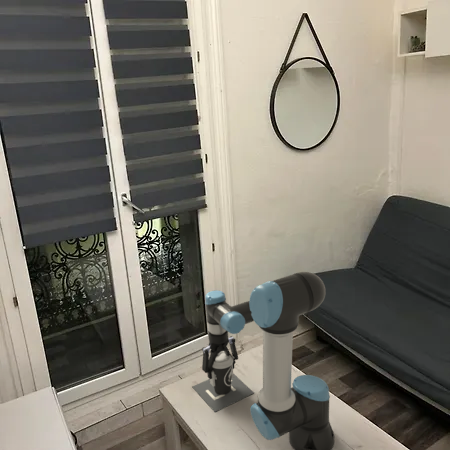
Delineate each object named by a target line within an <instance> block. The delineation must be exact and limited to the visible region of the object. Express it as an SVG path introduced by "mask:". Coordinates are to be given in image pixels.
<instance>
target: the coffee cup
mask: <svg viewBox="0 0 450 450" xmlns="http://www.w3.org/2000/svg"><path fill="white" fill-rule="evenodd" d="M231 355H232V354H231ZM231 355H229V356H228V355H226V354H225V352H224V351H222V352H220V353H218V355H217V356H216V359H215V361H214V364H213V366H212V367H213V371H214V377H215V386H214V389H215V392H216V393H217V394H221V395H224V394H227V393H229V392H230V391H231V374H232V364H233V358H232V357H231Z"/></svg>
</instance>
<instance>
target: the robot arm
mask: <svg viewBox="0 0 450 450" xmlns="http://www.w3.org/2000/svg"><path fill="white" fill-rule="evenodd" d="M326 291H327V290H326V286H325V284H324V281H323V280H322V279H321V277H319V276H318V275H317V274H315V273H313V272H308V271H301V272H300V271H299V272H296V273H293V274H290V275H287V276H284V277H280V278H278V279H277V278H276V279H274V280H269V281H268V280H267V281H265V282H264V283H262V284H260V285H256V286H255V287H254V288H253V289H252V291H251V293H250V295H249V300H247V301H244V302H242V303H238V304H235V305H230V304H229V303H228V302H227V298H226V294H225V292H223V291H221V290H217V289H216V290H211V291H209V292H207V293H206V294H205V302H204V304H205V311H206V312H205V313H206V322H207V323H206V324H207V335H208V345H207V346H206V347H202V348H201V350H202V353H203V354H202V364H201V365H202V366H201V369H202V371H203V372H204V373H205V374H207V378H208V379H210V383H211V384H212V385H213V387H214V386H215V377H214V371H213V367H212V366H213V364H214V361H215V359H216V356H217V355H218V353H220V352H222V351H224V352H225V354H226V355H228V356H229V355H231V357H232V358H233V364H232V374H231V378H233V374H234V369H235V364H236V363H237V362H236V361H237V360H239V355H238V351H237V346H236V338H235V337H233V335H237V334H239V333H241V331H242V330H244V328H245V325H247V324H250V323H252V322H254V323H255V324H256V325H257V326H258V328H259V329H260V330H261V331H262V388H261V389H260V390H259V391H258V394H257V395H258V396H257V402H256V403H255V402H254V403H253V404H252V405H251V406H250V410H249V411H250V416H251V418H252V420H253V423H254V426H255V427H256V429H257V430H258V432H259V434H260V435H261V436H262V437H263V438H264V439H265V440H268V441H272V440H275V439H277V438H278V439H279V438H280V437H282V436H284V435H286V434H288V440H289V443H290V445H291V447H292V448H293V449H294V450H332V449H333V447H334V445H335V434H334V430H333V428H332V425H331V423H330V397H331V396H330V388H329V386H328V384H327V383H326V381H325V380H323V379H322V378H320V377H319V376H315V375H310V374H302V375H299V376H298V375H297V377H295V378H294V379H293V382H292V363H293V339H294V337H293V335H294V334H293V333H294V332H295V331H296V330H298V327H299V320H300V319H299V317H300V316H301V315H304V314H307V313H309V312H311V311H312V312H313V311H314V310H316V309H318V308H319V307H320V305H321V304H322V303H323V302H324V301H325V298H326ZM229 334H232V335H231V336H229ZM228 344H229V348H230V351H229V349H228Z"/></svg>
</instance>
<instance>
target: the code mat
mask: <svg viewBox="0 0 450 450" xmlns="http://www.w3.org/2000/svg"><path fill="white" fill-rule="evenodd" d="M192 389H193V391H195V392H196V393H197V395H198V396H199V397H200V398H201V399H202V400H203V401H204V402H205V403H206V404H207V405H208V406H209V408H211V410H212V411H213V412H214V413H216V412H218V411H220V410H222V409H225V408H227V407H229V406H231V405H233V404H235V403H237V402H240V401H241V400H244V399H246V398H248V397H249V396H251V395H254V394H255V392H254V391H253V390H252V389H251V388H250V387H249V386H248V385H246V384H245V383H244V382H243V381H242V380H241V379H240V378H239V377H238V376H237V375H236V374H235V373H233V378H231V391H230V392H229V393H227V394H224V395H221V394H217V393H216V392H215V389H214V387H213V385H212V384H211V383H210V379H209V378H208V379H206V380H204V381H202V382H199V383H197V384H194V385H193V386H192Z"/></svg>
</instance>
